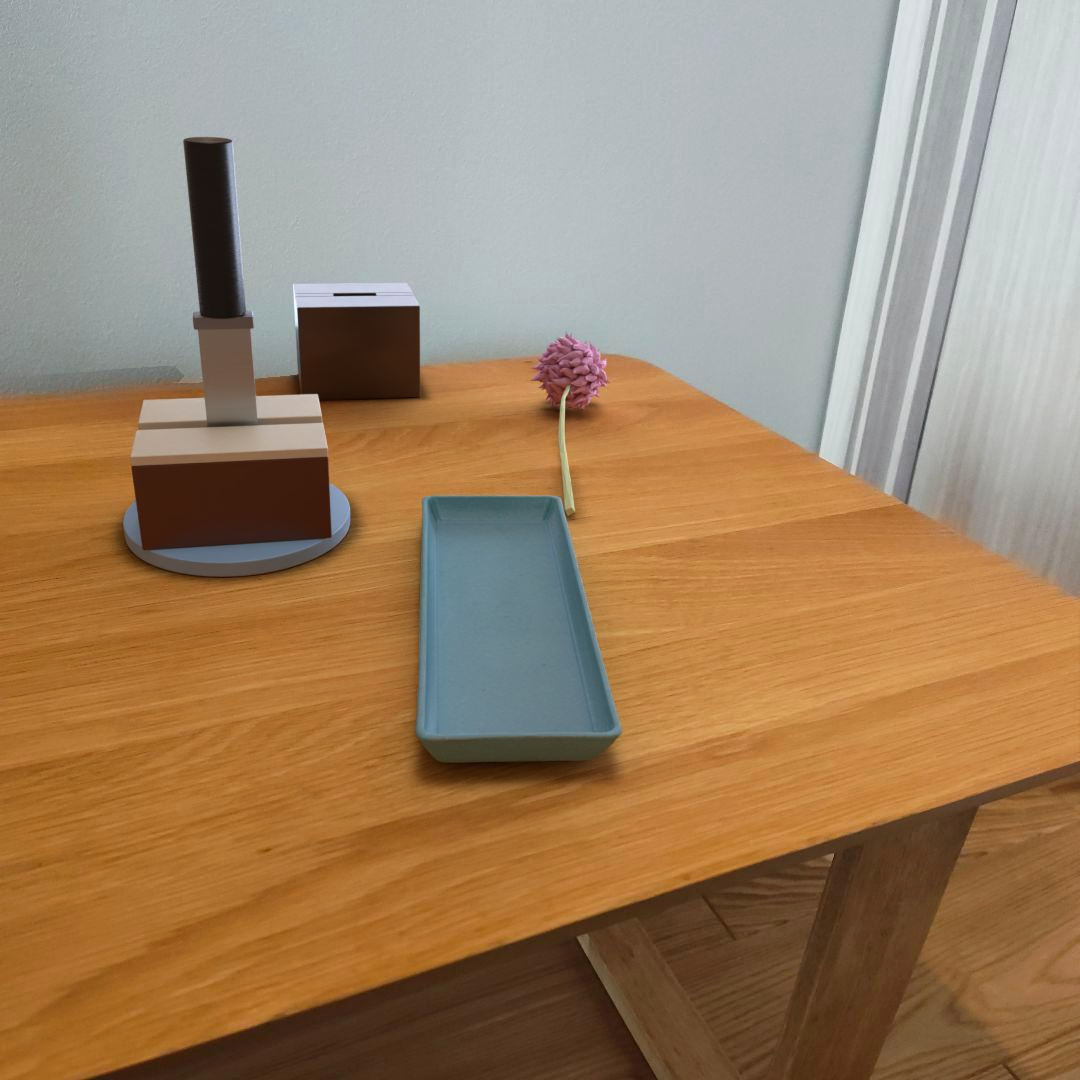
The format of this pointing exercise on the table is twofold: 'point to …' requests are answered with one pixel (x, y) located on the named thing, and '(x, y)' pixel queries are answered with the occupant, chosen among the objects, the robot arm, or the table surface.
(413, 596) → the table surface
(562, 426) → the artificial flower
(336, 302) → the knife block
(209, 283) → the knife
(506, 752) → the teal serving tray
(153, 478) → the cake
